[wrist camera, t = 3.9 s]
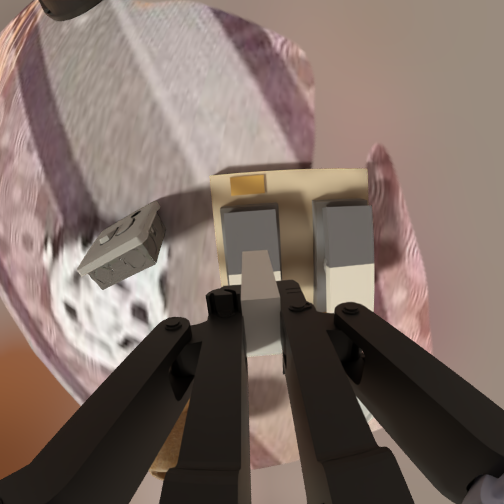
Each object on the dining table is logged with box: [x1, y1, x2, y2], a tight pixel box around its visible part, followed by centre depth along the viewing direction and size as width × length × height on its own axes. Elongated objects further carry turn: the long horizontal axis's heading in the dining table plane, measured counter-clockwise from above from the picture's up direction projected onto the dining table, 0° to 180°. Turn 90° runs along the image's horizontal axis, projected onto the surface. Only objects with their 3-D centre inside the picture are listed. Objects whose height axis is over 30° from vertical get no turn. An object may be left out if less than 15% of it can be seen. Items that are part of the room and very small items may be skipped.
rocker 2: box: [322, 205, 374, 313], centre depth 28 cm, size 12×5×2 cm, turn 4°
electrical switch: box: [77, 201, 166, 290], centre depth 28 cm, size 9×5×9 cm, turn 114°
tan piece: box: [149, 399, 190, 481], centre depth 34 cm, size 15×12×15 cm
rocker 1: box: [224, 209, 281, 285], centre depth 28 cm, size 12×5×2 cm, turn 4°
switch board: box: [210, 168, 368, 313], centre depth 32 cm, size 20×18×4 cm
